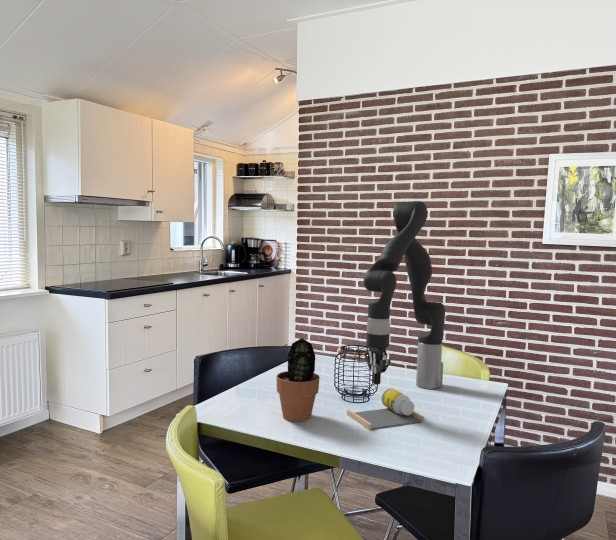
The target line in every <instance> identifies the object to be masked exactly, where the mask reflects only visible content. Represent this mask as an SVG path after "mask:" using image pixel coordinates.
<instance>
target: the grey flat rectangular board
mask: <svg viewBox="0 0 616 540" xmlns="http://www.w3.org/2000/svg"><path fill="white" fill-rule="evenodd" d="M346 415H347V416H348V417H349V416H350V417H349V418H351V419H353V420H354V421H355V422H357V423H358V424H360V425H361V426H363V427H364V428H366V429H367V430H369V431H371V430H378V429H384V428H385V429H386V428H391V427H400V426H404V425H405V426H407V425H411V424H419V423H425V416H424V415H422V414H420V413H418V412H416V411H415V410H414V411H413V413H412V414H411V415H404V414H403V415H400V414H397V413H395V412H394V411H392V410H390V409H389V408H387V407H385V408H379V409H371V410H364V411H362V410H361V411H355V412H354V411H353V410H352V409H346Z"/></svg>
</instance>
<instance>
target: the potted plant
mask: <svg viewBox="0 0 616 540" xmlns="http://www.w3.org/2000/svg"><path fill="white" fill-rule="evenodd" d="M288 351H289V352H288V353H287V370H286V371H283V372H282V371H281V372H279V373H277V374H276V376H275V377H276V392H277V394H278V395H279V396H278V397H279V401H280V408H281V412H282V413H281V414H282V417H283V419H285V420H286V421H290V422H297V423H299V422H307V421H309V420H310V419H311V418H312V415H313V414H312V413H313V409H314V406H315V400H316V395H317V394H319V389H320V388H319V387H320V375H319V374H318V373H315V371H316V354H315V350H314V348H313V344H312V343H311V342H309V341H307V340H306V339H304V338H303V337H301V338H300V339H297V340H296V341H294V342H292V343H291V346H290V349H289V350H288Z"/></svg>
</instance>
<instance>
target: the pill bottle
mask: <svg viewBox="0 0 616 540" xmlns="http://www.w3.org/2000/svg"><path fill="white" fill-rule="evenodd" d="M381 403H382V405H383V406H384V407H385V408H389V409H390V410H392V411H394V412H395V413H397V414H400V415H403V414H404V415H411V414H412V413H413V411H414V412H415V404H414V402H413V401H412V400H411V398H410V397H409V396H407V394H404V393H403V392H400V391H398V390H396V389H394V388H387V389H385V391H383V393H382V395H381Z"/></svg>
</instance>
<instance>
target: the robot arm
mask: <svg viewBox="0 0 616 540" xmlns="http://www.w3.org/2000/svg"><path fill="white" fill-rule="evenodd" d="M392 216H393V221H394V226H395V228H396V232H397V234H396V235H395V236H393V237H392V238H390V240H389V241H388V242H387V243H386V244H385V245H384V248H383V250H382V252H381V253H380V255H379V258H378V259H377V260H376V261H375V262H374V263H373V264H372V265H371V266H370V267H369V268H368V269H367V271H366V272H365V274H364V277H363V286H364V288H365V289H366V290H367V291H369V292H375V293H381V295H380V297H379V298H374V299H371V300H369V301H368V307H367V322H366V335H365V336H366V337H365V338H366V341H365V344H366V346H367V347H368V351H366V352H364V356H365V360H366V363H367V367H368V369H369V370H371V373H372V375H371V376H372V384H373V385H375V386H377V385H378V386H379V385H381V380H382V379H381V378H382V376H381V375H382V374H383V373H386V371H387V369H388V368H389V366H390V364H391V363H392V361H391V359H389V358H388V357H387V348H389V347H390V338H391V337H390V336H391V322H390V321H391V320H390V318H391V317H390V314H391V304H392V301H393V297H394V294H395V291H396V288H397V284H398V283H397V282H398V280H397V279H398V278H397V276H396V274H395V273H394V272H396V271H397V270H398V269H399V266H400V264H401V263H402V260H403V258H404V263H405V264H404V265H405V267H406V272H407V273H406V274H407V277H408V280H409V286H410V289H411V290H410V291H411V296H412V297H411V298H412V304H413V305H412V306H413V307H412V308H413V313H414V318H415V321H416V323H418V324H420V325H425V326H426V325H427V326H431V328H430V330H429V331H427V332H422V333H419V335H418V336H417V352H416V353H417V357H416V358H417V359H416V376H415V377H416V378H415V380H416V381H415V385H416V386H417V387H419V388H422V389H429V390H436V389H439V388H441V387H443V381H444V380H443V378H444V377H443V376H444V362H443V361H442V357H443V356H442V353H443V352H442V351H443V339H444V331H445V321H446V320H445V319H446V308H445V305H444V304H443V303H442V302H438V301H429V300H426V296H425V290H426V288H427V286H428V285H429V282H430V281H431V278H432V275H433V266H432V260H431V257H430V254H429V253H428V251H427V250H426V248H425V247H424V246H423V245H422V244H421V243H420V242H419V241H418V239H416V237H417V236H418V234H419V233H420V231H421V230H422V228H423V227H424V225H425V224H426V222H427V217H428V208H427V205H426V204H425V202H423V201H419V200H414V201H412V200H411V201H399V202H396V203H395V204H394V206H393V211H392Z"/></svg>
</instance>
